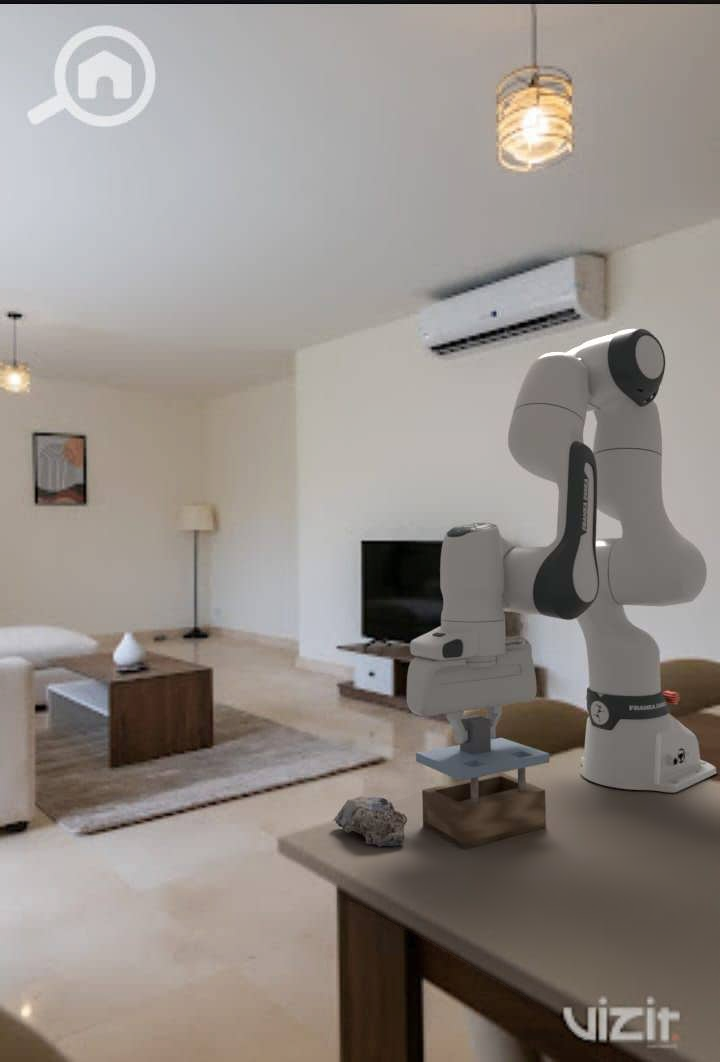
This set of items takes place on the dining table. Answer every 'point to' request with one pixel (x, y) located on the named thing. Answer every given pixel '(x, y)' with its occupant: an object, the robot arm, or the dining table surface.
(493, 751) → the grey peg base plate
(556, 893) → the dining table surface
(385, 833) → the mineral specimen
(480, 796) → the wooden box with pegs
